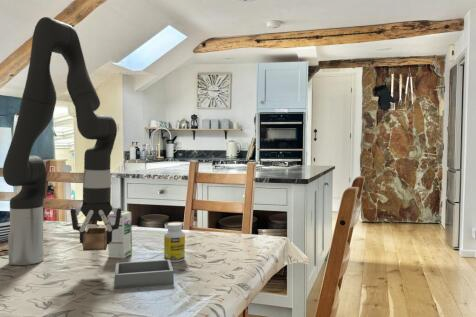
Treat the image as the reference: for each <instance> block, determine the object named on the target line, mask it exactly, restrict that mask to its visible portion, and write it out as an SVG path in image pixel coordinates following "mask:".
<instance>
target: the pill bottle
mask: <svg viewBox="0 0 476 317" xmlns="http://www.w3.org/2000/svg"><path fill="white" fill-rule="evenodd" d="M166 226H167V227H166V228H167V231H166V232H164V236H163V245H164V248H163V252H164V254H163V256H164V257H163V258H164V259H163V260H169V259H170V261H171V263H179V262H182V261H184V260H185V258H186V257H185V255H186V254H185V253H186V252H185V249H186V248H185V247H186V246H185V244H186V234H185V232H184V231H183V230H182V229H183V223H182V222H169V223H167V224H166Z"/></svg>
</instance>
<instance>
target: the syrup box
mask: <svg viewBox="0 0 476 317" xmlns="http://www.w3.org/2000/svg"><path fill="white" fill-rule="evenodd" d="M108 218H109V220H110V223H111V225H114V224H115V220H116V215H114V212H110V214H109V215H108ZM132 231H133V229H132V211H128V210H122V211H121V217H120V223H119V228H118V229H115V230H113V231H112V241H111V242H110V243H109V244H107V248H108V249H107V250H108V251H107V253H108V258H111V259H125V258H127V257H128V256H131V255H132V254H133V235H132V234H133V232H132Z"/></svg>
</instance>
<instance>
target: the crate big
mask: <svg viewBox="0 0 476 317" xmlns="http://www.w3.org/2000/svg"><path fill="white" fill-rule="evenodd" d="M162 285H163V286H164V285H174V268H173V265H172V262H171V261H170V259H169V260H165V259H158V260H157V259H156V260H155V259H154V260H143V261H141V260H140V261H138V260H137V261H127V262H125V261H124V262H123V261H122V262H116V263H115V269H114V289H124V288H125V289H127V288H137V287H149V286H150V287H151V286H162Z"/></svg>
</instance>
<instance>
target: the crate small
mask: <svg viewBox="0 0 476 317" xmlns="http://www.w3.org/2000/svg"><path fill="white" fill-rule="evenodd" d="M107 248H108V244H107V228H106V226H105V227H103V226H101V227H86V228H85V232H84V234H83V245H82V251H84V252H86V251H87V252H88V251H107Z"/></svg>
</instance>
